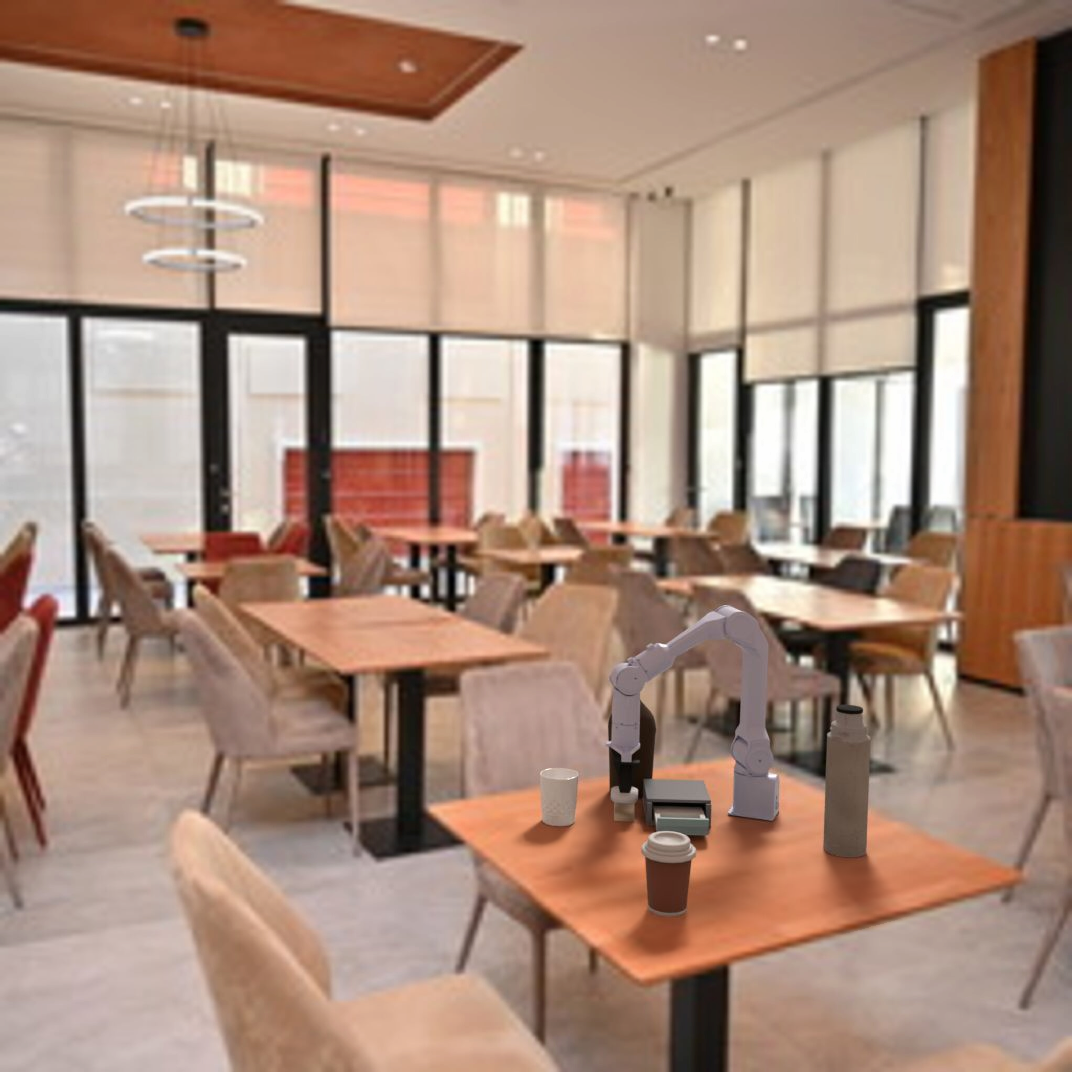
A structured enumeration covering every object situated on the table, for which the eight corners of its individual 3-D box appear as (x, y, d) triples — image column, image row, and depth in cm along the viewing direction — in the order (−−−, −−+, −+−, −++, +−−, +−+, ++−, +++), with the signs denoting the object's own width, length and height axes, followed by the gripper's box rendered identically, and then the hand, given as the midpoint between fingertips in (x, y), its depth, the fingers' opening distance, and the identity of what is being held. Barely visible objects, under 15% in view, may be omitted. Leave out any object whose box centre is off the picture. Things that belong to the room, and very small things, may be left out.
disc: (641, 797, 223) (641, 787, 222) (633, 805, 217) (633, 795, 217) (615, 793, 225) (615, 784, 225) (607, 801, 219) (607, 791, 219)
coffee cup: (705, 908, 177) (707, 838, 176) (672, 925, 171) (674, 852, 170) (662, 892, 184) (663, 824, 183) (628, 908, 177) (630, 837, 176)
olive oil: (625, 803, 231) (627, 689, 229) (597, 789, 240) (599, 680, 238) (664, 795, 236) (666, 684, 234) (635, 782, 245) (637, 675, 243)
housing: (702, 803, 231) (703, 780, 231) (710, 827, 217) (711, 802, 216) (642, 802, 232) (643, 778, 231) (646, 825, 217) (647, 800, 217)
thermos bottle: (835, 839, 211) (840, 699, 208) (873, 849, 205) (879, 706, 203) (815, 849, 205) (820, 706, 203) (854, 861, 199) (859, 713, 197)
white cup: (578, 828, 215) (578, 779, 214) (538, 827, 215) (539, 778, 214) (577, 815, 223) (578, 768, 222) (539, 814, 223) (540, 767, 222)
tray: (701, 814, 220) (702, 800, 220) (708, 835, 208) (708, 819, 208) (653, 813, 220) (653, 798, 220) (657, 833, 209) (657, 818, 208)
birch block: (633, 815, 223) (633, 796, 223) (633, 821, 219) (634, 802, 219) (613, 814, 223) (614, 795, 223) (614, 820, 219) (614, 801, 219)
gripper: (605, 713, 227) (604, 775, 228) (607, 730, 213) (605, 797, 214) (638, 714, 227) (637, 776, 228) (642, 731, 212) (640, 798, 213)
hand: (624, 786), depth 221 cm, fingers open, 7 cm apart
